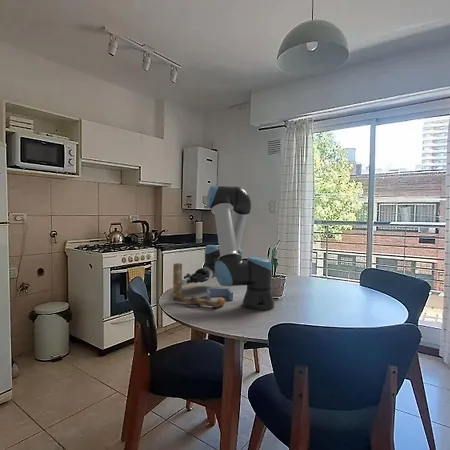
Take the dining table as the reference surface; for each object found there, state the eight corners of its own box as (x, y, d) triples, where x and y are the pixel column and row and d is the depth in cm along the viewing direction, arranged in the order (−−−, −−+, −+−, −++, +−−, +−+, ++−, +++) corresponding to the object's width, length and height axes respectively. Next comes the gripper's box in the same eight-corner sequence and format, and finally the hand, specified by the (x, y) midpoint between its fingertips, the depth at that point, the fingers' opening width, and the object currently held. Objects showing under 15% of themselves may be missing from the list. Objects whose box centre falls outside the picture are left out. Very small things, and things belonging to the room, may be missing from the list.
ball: (226, 306, 163) (226, 297, 163) (220, 307, 160) (220, 299, 160) (220, 304, 166) (220, 296, 166) (214, 306, 163) (214, 297, 163)
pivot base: (203, 304, 165) (203, 302, 165) (196, 308, 159) (196, 306, 159) (190, 302, 168) (190, 301, 168) (183, 306, 162) (183, 304, 162)
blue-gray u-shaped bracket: (232, 300, 173) (233, 292, 173) (208, 301, 171) (208, 293, 171) (229, 295, 183) (229, 288, 183) (206, 295, 181) (206, 288, 181)
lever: (219, 305, 160) (220, 267, 159) (217, 307, 157) (218, 268, 156) (176, 299, 169) (176, 263, 168) (173, 300, 166) (173, 264, 165)
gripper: (213, 282, 191) (193, 291, 169) (193, 280, 196) (171, 288, 174) (214, 269, 191) (194, 276, 169) (193, 267, 196) (171, 274, 174)
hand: (182, 282), depth 172 cm, fingers closed
